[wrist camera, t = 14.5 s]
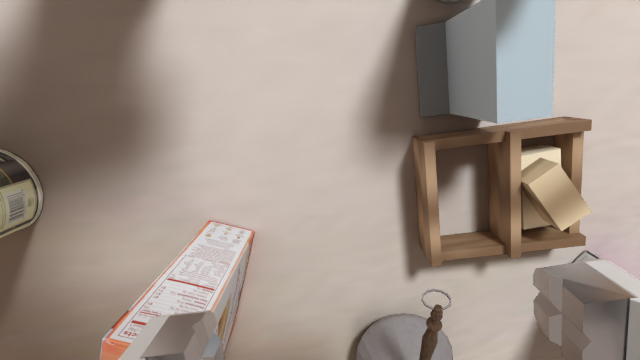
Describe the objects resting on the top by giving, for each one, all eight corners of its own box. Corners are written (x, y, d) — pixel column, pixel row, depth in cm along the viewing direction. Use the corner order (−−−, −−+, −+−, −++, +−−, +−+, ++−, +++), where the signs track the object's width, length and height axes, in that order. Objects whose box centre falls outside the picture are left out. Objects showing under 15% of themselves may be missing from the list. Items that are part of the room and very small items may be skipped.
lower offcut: (502, 150, 39) (519, 156, 35) (540, 143, 38) (560, 148, 35) (507, 217, 41) (523, 229, 37) (543, 211, 40) (563, 223, 37)
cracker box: (236, 328, 45) (160, 523, 25) (190, 317, 45) (75, 504, 25) (259, 230, 42) (191, 363, 21) (209, 217, 42) (93, 340, 21)
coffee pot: (442, 378, 46) (493, 511, 32) (354, 379, 47) (365, 510, 32) (452, 226, 41) (518, 301, 26) (352, 228, 41) (364, 303, 27)
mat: (414, 27, 36) (415, 26, 35) (516, 12, 35) (519, 10, 34) (420, 116, 38) (421, 117, 37) (516, 104, 37) (519, 104, 37)
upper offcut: (512, 177, 36) (528, 184, 33) (540, 157, 35) (558, 163, 32) (543, 220, 37) (561, 231, 34) (571, 201, 36) (591, 211, 33)
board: (445, 21, 35) (495, -8, 24) (486, 15, 35) (555, -18, 24) (449, 113, 37) (497, 123, 26) (488, 108, 37) (552, 116, 26)
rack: (412, 136, 38) (423, 143, 34) (564, 116, 37) (599, 120, 32) (420, 246, 42) (432, 266, 37) (561, 230, 40) (592, 249, 36)
